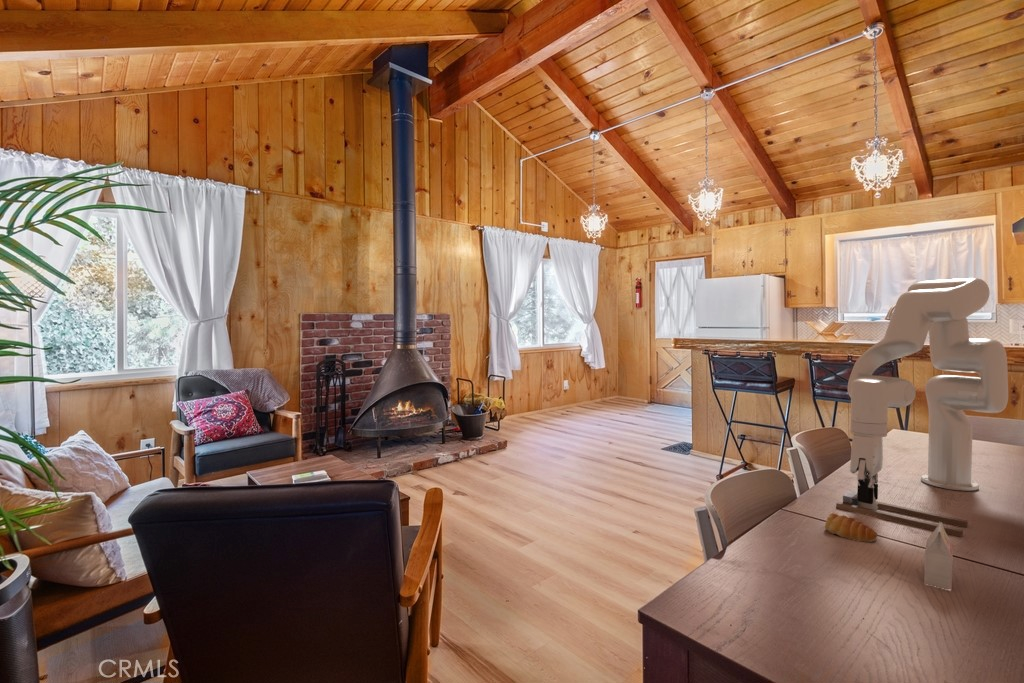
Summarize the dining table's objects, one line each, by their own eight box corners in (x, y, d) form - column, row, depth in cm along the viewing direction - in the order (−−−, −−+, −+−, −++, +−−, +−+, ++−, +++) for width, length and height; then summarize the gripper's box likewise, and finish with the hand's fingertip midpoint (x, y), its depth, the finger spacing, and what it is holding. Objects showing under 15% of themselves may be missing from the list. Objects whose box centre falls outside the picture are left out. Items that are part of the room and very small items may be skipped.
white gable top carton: (924, 584, 90) (925, 529, 90) (926, 570, 96) (927, 518, 95) (951, 591, 88) (952, 535, 88) (952, 577, 93) (953, 523, 93)
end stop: (849, 501, 132) (849, 490, 132) (858, 503, 131) (858, 492, 130) (842, 507, 128) (842, 495, 128) (851, 509, 127) (852, 497, 127)
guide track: (847, 499, 134) (847, 494, 134) (967, 525, 116) (968, 520, 116) (836, 507, 128) (836, 503, 128) (961, 537, 110) (961, 531, 110)
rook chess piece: (882, 511, 124) (882, 479, 124) (861, 510, 125) (862, 478, 125) (872, 505, 129) (873, 474, 128) (853, 504, 130) (853, 473, 129)
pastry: (881, 538, 110) (882, 521, 110) (870, 547, 106) (870, 529, 106) (834, 525, 118) (834, 509, 117) (821, 532, 114) (821, 516, 113)
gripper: (860, 421, 134) (859, 489, 135) (840, 431, 123) (840, 504, 124) (894, 425, 129) (893, 496, 129) (877, 436, 118) (876, 513, 119)
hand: (867, 499), depth 127 cm, fingers closed on rook chess piece, 3 cm apart
